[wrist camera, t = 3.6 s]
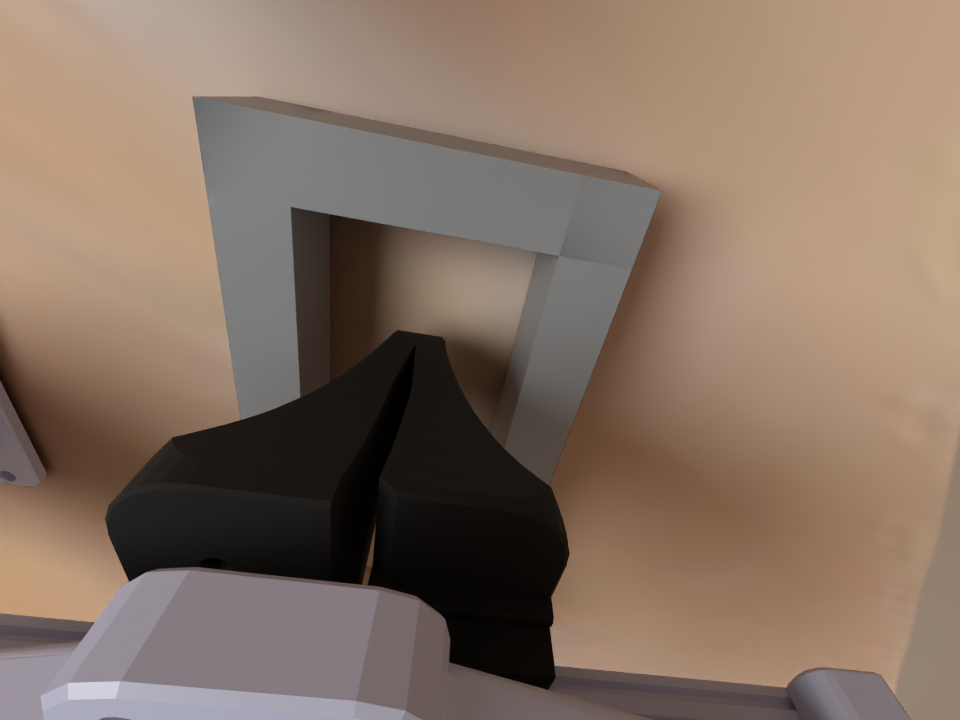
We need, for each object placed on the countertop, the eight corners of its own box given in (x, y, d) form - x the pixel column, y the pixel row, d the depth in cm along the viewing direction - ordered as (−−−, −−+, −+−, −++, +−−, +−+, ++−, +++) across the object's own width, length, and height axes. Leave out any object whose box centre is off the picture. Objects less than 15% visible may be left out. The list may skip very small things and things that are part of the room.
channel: (301, 651, 23) (283, 707, 21) (257, 96, 10) (192, 96, 7) (460, 666, 24) (458, 721, 22) (625, 171, 10) (661, 190, 8)
